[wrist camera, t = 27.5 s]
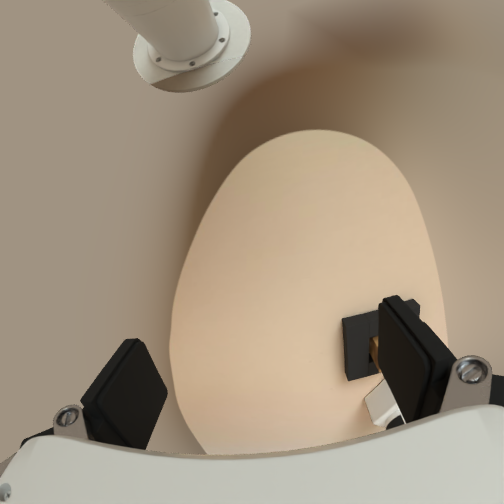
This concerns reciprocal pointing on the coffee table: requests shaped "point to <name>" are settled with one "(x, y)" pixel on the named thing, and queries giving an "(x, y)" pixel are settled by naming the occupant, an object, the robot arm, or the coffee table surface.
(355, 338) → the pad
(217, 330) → the coffee table surface
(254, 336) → the coffee table surface
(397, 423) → the medicine bottle
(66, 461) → the robot arm
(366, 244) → the coffee table surface
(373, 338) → the key
